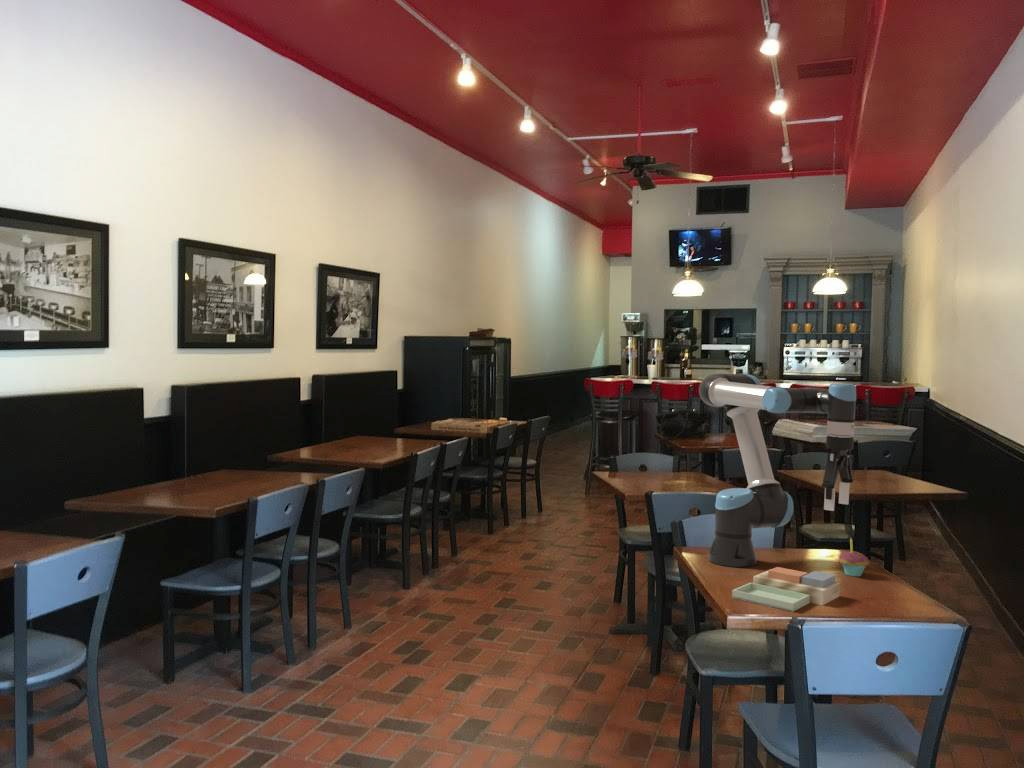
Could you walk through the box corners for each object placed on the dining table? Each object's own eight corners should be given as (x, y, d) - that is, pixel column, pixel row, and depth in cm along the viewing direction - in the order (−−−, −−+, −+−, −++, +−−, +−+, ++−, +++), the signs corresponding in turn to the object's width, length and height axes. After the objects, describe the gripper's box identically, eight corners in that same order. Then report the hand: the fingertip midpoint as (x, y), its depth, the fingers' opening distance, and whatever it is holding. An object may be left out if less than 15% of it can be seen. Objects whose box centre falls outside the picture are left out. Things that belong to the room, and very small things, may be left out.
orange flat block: (768, 577, 234) (768, 570, 234) (777, 573, 239) (777, 566, 239) (799, 583, 228) (799, 576, 228) (807, 579, 233) (807, 572, 233)
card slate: (823, 588, 224) (823, 580, 224) (801, 583, 228) (801, 576, 228) (835, 582, 231) (835, 574, 231) (814, 577, 235) (814, 570, 235)
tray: (732, 598, 227) (732, 590, 227) (750, 590, 235) (750, 582, 235) (792, 611, 216) (793, 603, 216) (809, 603, 224) (809, 595, 224)
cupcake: (859, 579, 250) (860, 540, 249) (832, 573, 256) (834, 535, 256) (873, 575, 255) (874, 536, 255) (847, 569, 262) (848, 531, 262)
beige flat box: (752, 590, 235) (753, 576, 235) (771, 582, 244) (771, 568, 244) (822, 605, 222) (823, 590, 222) (839, 596, 231) (839, 582, 231)
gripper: (839, 440, 231) (836, 515, 232) (865, 434, 251) (861, 503, 252) (813, 437, 236) (809, 511, 237) (840, 431, 256) (836, 499, 257)
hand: (836, 507), depth 245 cm, fingers open, 13 cm apart
